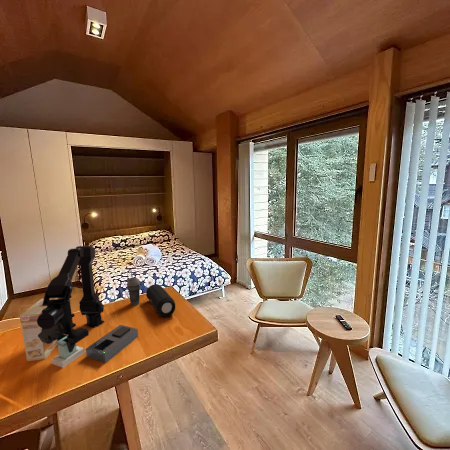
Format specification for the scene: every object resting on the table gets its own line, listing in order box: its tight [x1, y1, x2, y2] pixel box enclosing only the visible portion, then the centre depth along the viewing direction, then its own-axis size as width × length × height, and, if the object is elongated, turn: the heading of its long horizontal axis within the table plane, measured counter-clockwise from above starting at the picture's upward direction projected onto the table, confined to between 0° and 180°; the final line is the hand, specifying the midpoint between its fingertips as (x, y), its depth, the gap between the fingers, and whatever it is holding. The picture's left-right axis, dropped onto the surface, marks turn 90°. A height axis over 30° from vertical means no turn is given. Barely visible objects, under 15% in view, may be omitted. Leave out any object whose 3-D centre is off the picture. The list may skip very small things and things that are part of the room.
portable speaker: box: [145, 283, 176, 318], centre depth 137 cm, size 26×10×10 cm, turn 31°
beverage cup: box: [126, 270, 141, 306], centre depth 142 cm, size 7×7×20 cm
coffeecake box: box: [19, 298, 58, 362], centre depth 103 cm, size 15×7×20 cm, turn 9°
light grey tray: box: [51, 345, 86, 369], centre depth 98 cm, size 6×9×2 cm, turn 158°
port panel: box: [85, 324, 139, 364], centre depth 105 cm, size 10×18×5 cm, turn 158°
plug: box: [56, 336, 77, 360], centre depth 98 cm, size 3×5×8 cm
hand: (67, 350), depth 98 cm, fingers closed on plug, 3 cm apart
